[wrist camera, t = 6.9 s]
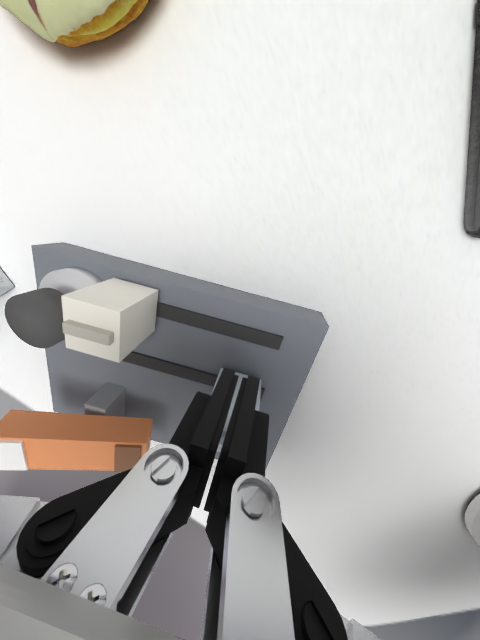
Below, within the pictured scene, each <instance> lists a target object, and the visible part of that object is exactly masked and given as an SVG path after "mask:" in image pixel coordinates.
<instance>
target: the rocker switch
mask: <svg viewBox="0 0 480 640" xmlns="http://www.w3.org/2000/svg"><path fill="white" fill-rule="evenodd" d="M152 422H153V419H150V418H134V417H118V416H102V415H86V414H70V413H55V412H39V411H22V410H10V411H9V412H8V413H7V414H6V415H5V416H4V418H3V419H2V420H1V421H0V470H28V469H49V470H54V469H55V470H108V471H109V470H110V471H114V472H124V471H126V470H129V469H131V468H133V467H134V466H135V465H136V464H137V463H138V461H139V460H140V459H141V458H142V457H143V455H144V454H145V453H146V452H147V451H149V447H150V441H151V432H152Z"/></svg>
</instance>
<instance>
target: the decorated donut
mask: <svg viewBox="0 0 480 640" xmlns="http://www.w3.org/2000/svg"><path fill="white" fill-rule="evenodd" d="M148 1H149V0H0V5H1V6H2V7H4V8H5V9H7V10H8V11H9V12H10V13H12V14H13V15H14V16H15V17H16V18H18V19H19V20H20V21H22V22H23V23H24V24H26V25H27V26H28V27H30V28H31V29H32V30H33V31H34V32H36V33H37V34H38V35H39V36H41V37H42V38H44V39H45V40H48V41H50V42H52V43H54V42H55V41H56V42H58V43H60V44H63V45H65V46H68V47H77V46H80V45H84V44H88V43H90V42H93V41H96V40H98V41H101V40H103V39H104V38H106V37H109V36H111V35H112V34H114V33H116V32H118V31H119V30H121V29H122V28H124V27H125V26H126V25H127V24H129V23H130V22H132V21H133V20H135V19H137V17H138V16H139V15H140V14H141V13H142V11H143V10H144V8H145V7H146V5H147V3H148Z"/></svg>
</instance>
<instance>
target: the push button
mask: <svg viewBox="0 0 480 640" xmlns="http://www.w3.org/2000/svg"><path fill="white" fill-rule="evenodd" d="M62 295H64V293H62V292H60V291H58V290H56V289H53V288H41V289H37V290H34V291H30V292H27V293H23V294H19V295H16V296H13V297H11V298H10V299H9V300H8V301H7V303H6V305H5V316H6V320H7V322H8V324H9V326H10V327H11V329H12V330H13V332H14V333H15V334H16V335H17V336H18V337H19V338H20V339H22V340H23V341H24V342H26V343H28V344H29V345H32V346H34V347H38V348H49V347H52V346H54V345H56V344H57V343H59V342H61V341H63V340H65V334H64V333H63V327H62V322H63V311H62V300H61V296H62Z"/></svg>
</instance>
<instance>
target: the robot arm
mask: <svg viewBox="0 0 480 640" xmlns="http://www.w3.org/2000/svg"><path fill="white" fill-rule="evenodd" d="M238 378H239V376H238V375H235V371H233V370H230V369H227V368H223V371H222V373H221V375H220V377H219V380H218V382H217V384H216V386H215V389H214V391H213V393H212V395H208V394H205V393H202V392H199V391H198V392H197V393H196V394H195V396H194V398H193V400H192V402H191V404H190V405H189V407H188V409H187V411H186V413H185V415H184V416H183V418H182V420H181V422H180V424H179V426H178V427H177V429H176V431H175V433H174V435H173V437H172V438H171V440H170V442H169V444H161V445H157V446H155V447H153V448H151V449H150V450H149V451H147V452H146V453H145V454H144V455H143V457H142V458H141V459H140V460H139V461H138V463H137V464H136V465H135V466H134V467H133V468H131V469H129V470H126V471H124V472H121V473H119V474H116V475H114V476H111V477H109V478H106V479H104V480H101V481H99V482H96V483H94V484H91V485H89V486H86V487H84V488H81V489H79V490H76V491H74V492H71V493H69V494H67V495H64V496H61V497H59V498H57V499H55V500H53V501H51V502H40V499H39V498H34V497H20V496H5V495H0V640H184V639H181V638H179V637H177V636H174V635H172V634H170V633H167V632H165V631H162V630H160V629H157V628H155V627H153V626H150V625H148V624H146V623H143V622H141V621H138V620H136V619H133V618H131V615H132V613H133V611H134V609H135V607H136V605H137V603H138V602H139V599H140V597H141V596H142V594H143V592H144V590H145V587H146V586H147V584H148V582H149V580H150V578H151V576H152V574H153V572H154V570H155V568H156V566H157V564H158V562H159V560H160V558H161V556H162V554H163V552H164V550H165V548H166V546H167V544H168V542H169V540H170V539H171V537H172V534H173V531H174V530H176V529H178V528H180V527H181V526H183V525H184V524H186V523H187V521H188V518H189V517H190V515H191V512H192V509H193V506H194V507H197V508H199V506H200V503H201V500H202V497H203V494H204V490H205V487H206V484H207V481H208V477H209V474H210V471H211V468H212V464H213V461H214V458H215V455H216V451H217V448H218V445H219V442H220V439H221V435H222V432H223V429H224V426H225V422H226V419H227V415H228V412H229V409H230V405H231V402H232V398H233V395H234V392H235V388H236V385H237V381H238ZM259 382H260V379H259V378H256V377H252V376H249V375H248V378H245V377H243V378H242V381H241V385H240V388H239V391H238V395H237V398H236V401H235V405H234V408H233V411H232V415H231V418H230V421H229V425H228V428H227V431H226V435H225V438H224V442H223V445H222V449H221V452H220V456H219V459H218V462H217V466H216V469H215V473H214V476H213V480H212V483H211V487H210V490H209V493H208V497H207V500H206V504H205V507H204V510H205V511H208V512H209V515H208V519H207V526H206V533H207V535H208V538H209V540H210V543H211V545H212V547H211V552H210V560H209V570H208V578H207V586H206V595H205V603H204V612H203V621H202V629H201V638H200V640H381V639H380V638H379V637H377V636H376V635H374V634H373V633H372V632H370V631H369V630H367V629H366V628H365V627H363V626H362V625H361V624H359V623H358V622H357V621H355V620H354V619H352V620H351V621H349V620H347V619H346V618H344V617H343V616H342V615H340V614H339V612H338V610H337V608H336V606H335V604H334V603H333V601H332V599H331V598H330V596H329V595H328V593H327V592H326V590H325V588H324V587H323V585H322V584H321V582H320V581H319V579H318V577H317V576H316V574H315V573H314V571H313V570H312V568H311V566H310V565H309V563H308V562H307V560H306V559H305V557H304V555H303V554H302V552H301V551H300V549H299V548H298V546H297V544H296V543H295V541H294V540H293V538H292V537H291V535H290V533H289V532H288V530H287V529H286V527H285V525H284V524H283V522H282V519H281V510H280V502H279V498H278V494H277V492H276V490H275V488H274V486H273V485H272V484H271V483H270V481H269V480H268V479H266V478H265V466H266V454H267V442H268V429H269V414H266V413H263V412H260V411H257V410H255V407H256V401H257V395H258V389H259ZM464 521H465V524H466V528H467V529H468V531H469V532H470V534H471V536H472V537H473V539H474V540H475V542H476V543H477V544H478V545H479V546H480V493H479V494H478V495H477V496H476V497H475V498H474V499H473V500H472V501H471V502H470V504H469V505H468V507H467V510H466V512H465V520H464Z"/></svg>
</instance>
